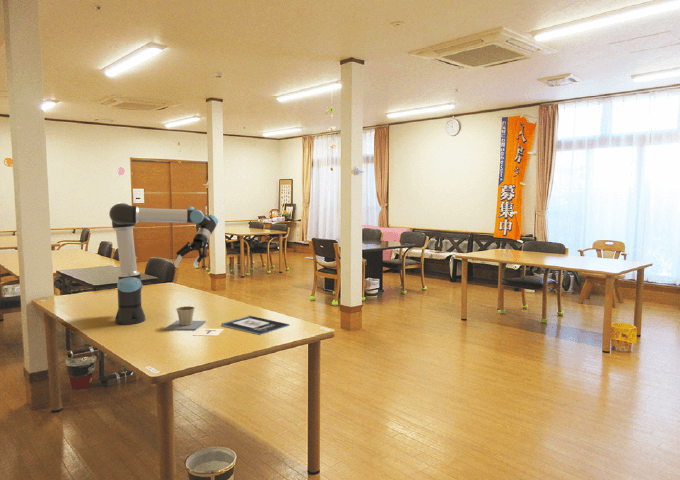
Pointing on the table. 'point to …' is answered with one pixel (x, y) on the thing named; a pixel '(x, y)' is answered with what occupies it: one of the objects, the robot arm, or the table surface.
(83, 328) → the table surface
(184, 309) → the flower pot
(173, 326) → the rubber mat
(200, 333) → the letter tile
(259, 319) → the sketchbook
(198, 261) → the robot arm
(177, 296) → the table surface
